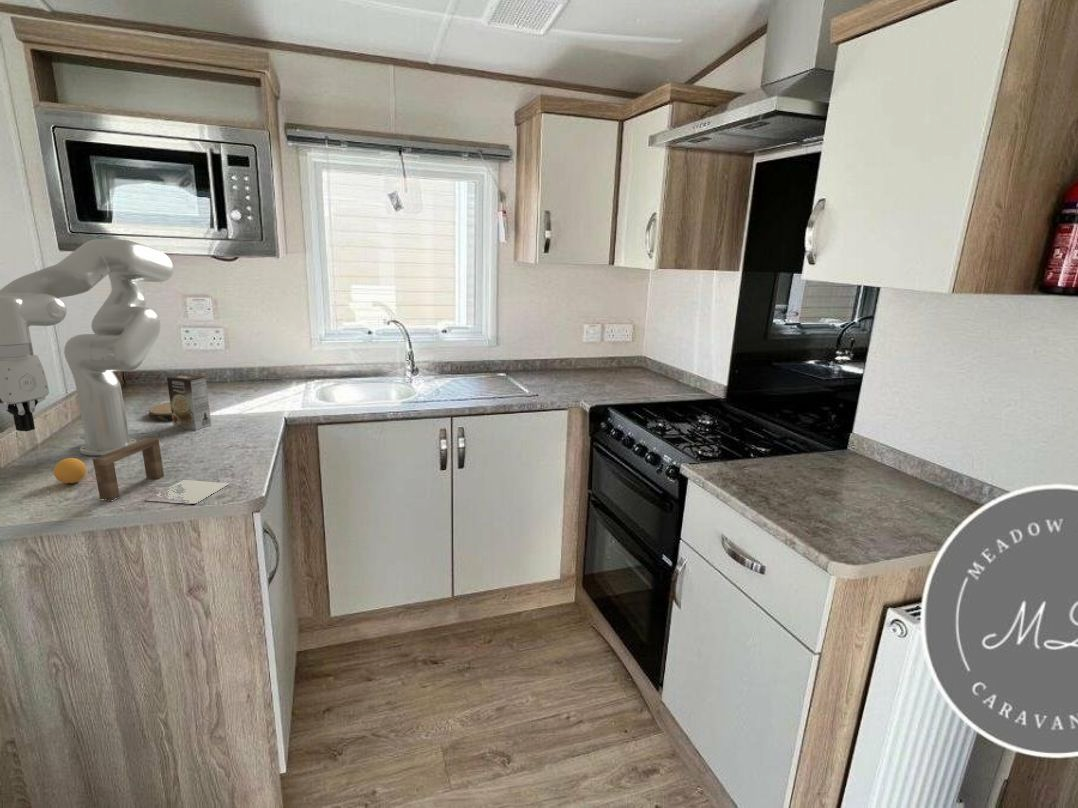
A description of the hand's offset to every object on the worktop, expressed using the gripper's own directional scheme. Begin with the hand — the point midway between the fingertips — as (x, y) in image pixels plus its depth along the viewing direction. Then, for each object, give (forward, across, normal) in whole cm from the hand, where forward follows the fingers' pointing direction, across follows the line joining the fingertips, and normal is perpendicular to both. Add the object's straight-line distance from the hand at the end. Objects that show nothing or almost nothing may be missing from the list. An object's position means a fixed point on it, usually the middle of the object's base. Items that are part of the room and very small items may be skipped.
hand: (25, 429), depth 133 cm
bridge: (+13, +1, -25) cm, 28 cm away
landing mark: (+13, +1, -39) cm, 41 cm away
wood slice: (+12, +57, +9) cm, 59 cm away
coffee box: (+12, +46, -5) cm, 48 cm away
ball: (+10, +1, -9) cm, 13 cm away
